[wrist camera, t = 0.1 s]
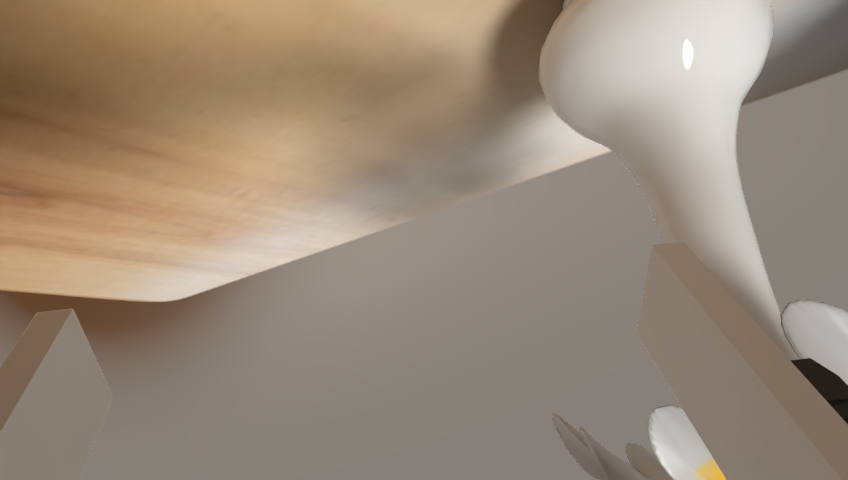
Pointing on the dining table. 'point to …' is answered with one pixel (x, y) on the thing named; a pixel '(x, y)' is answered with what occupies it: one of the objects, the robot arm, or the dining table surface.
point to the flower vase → (679, 175)
